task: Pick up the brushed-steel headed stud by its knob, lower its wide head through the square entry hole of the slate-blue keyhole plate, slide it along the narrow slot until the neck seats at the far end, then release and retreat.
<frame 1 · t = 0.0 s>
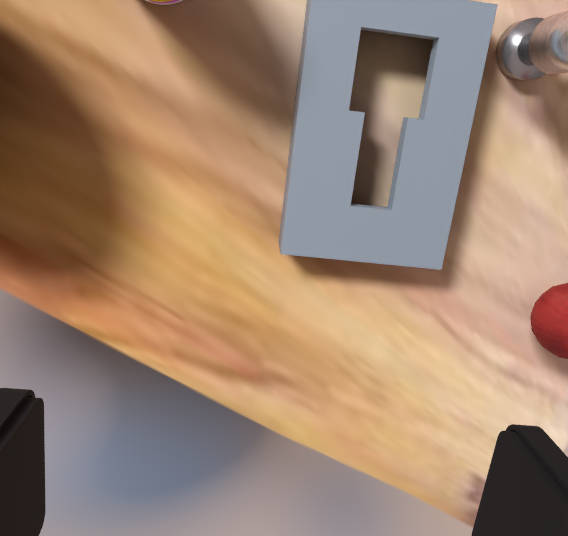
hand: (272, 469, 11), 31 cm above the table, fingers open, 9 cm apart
onion: (545, 303, 45), on the table
stud: (523, 50, 39), on the table
keyhole plate: (372, 133, 40), on the table
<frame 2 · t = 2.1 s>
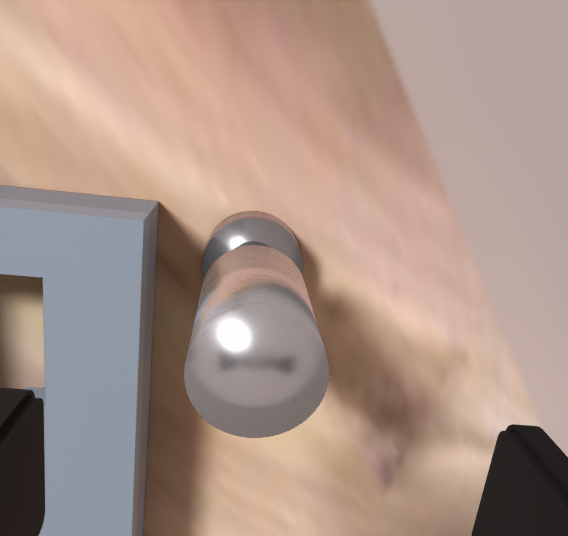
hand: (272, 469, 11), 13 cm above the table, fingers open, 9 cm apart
stud: (252, 257, 23), on the table
keyhole plate: (12, 386, 24), on the table
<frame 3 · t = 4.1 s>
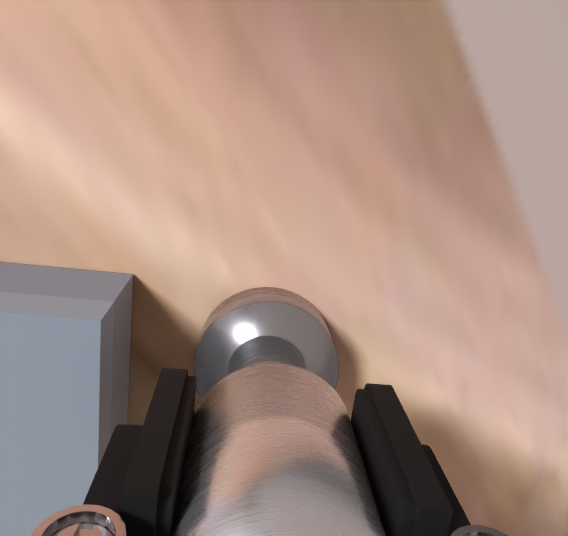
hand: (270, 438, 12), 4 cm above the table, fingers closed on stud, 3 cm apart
stud: (265, 349, 16), on the table, touching gripper
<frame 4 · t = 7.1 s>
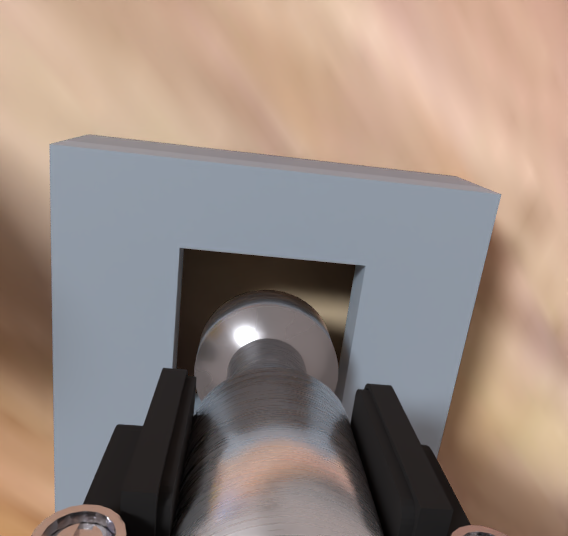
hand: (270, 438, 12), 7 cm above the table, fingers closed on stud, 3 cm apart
stud: (265, 352, 16), point 3 cm above the table, touching gripper
keyhole plate: (250, 398, 20), on the table
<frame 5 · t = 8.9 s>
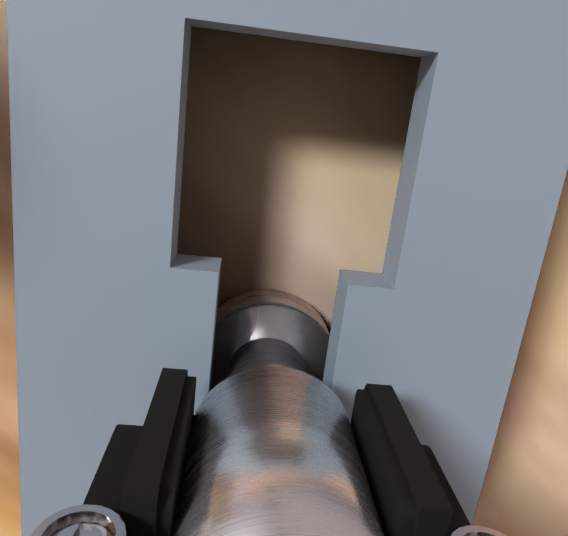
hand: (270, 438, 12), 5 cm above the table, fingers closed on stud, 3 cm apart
stud: (265, 351, 16), resting in keyhole plate, touching gripper
keyhole plate: (272, 287, 16), on the table
when the fingers open (5 cm above the table, at t = 10.3 s): stud stays where it is, resting in keyhole plate.
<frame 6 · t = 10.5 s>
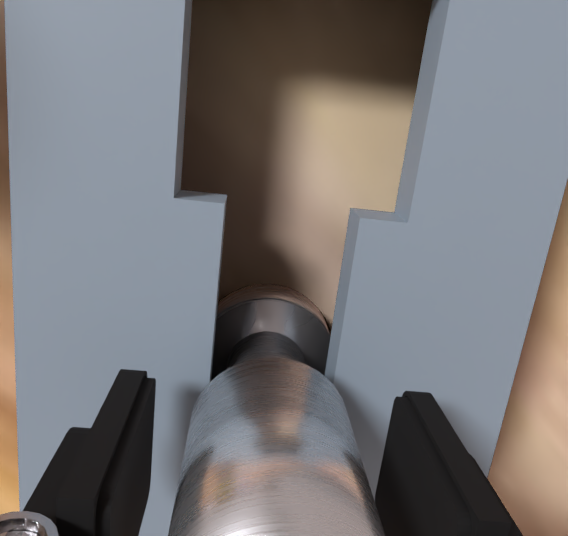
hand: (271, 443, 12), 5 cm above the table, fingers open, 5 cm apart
stud: (265, 345, 16), resting in keyhole plate
keyhole plate: (278, 236, 15), on the table
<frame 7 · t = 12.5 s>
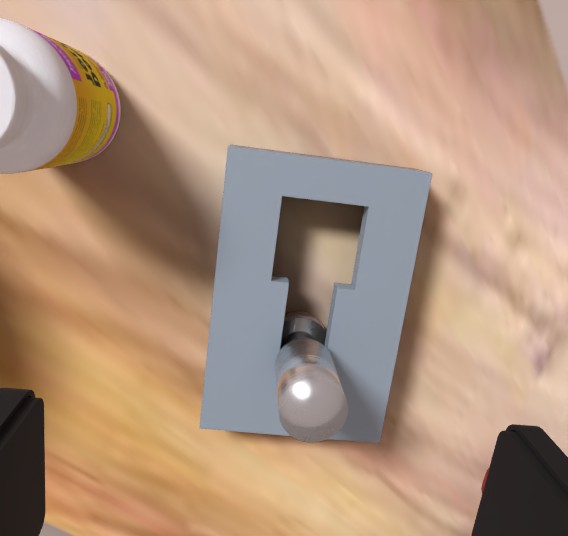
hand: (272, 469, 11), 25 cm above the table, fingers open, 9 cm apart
supplement bottle: (68, 106, 33), on the table
stud: (297, 338, 37), resting in keyhole plate
keyhole plate: (304, 291, 36), on the table
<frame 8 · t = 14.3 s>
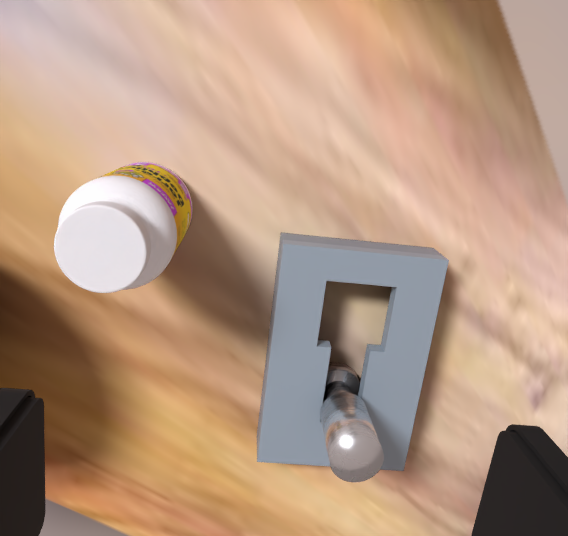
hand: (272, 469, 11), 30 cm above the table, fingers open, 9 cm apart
supplement bottle: (148, 205, 40), on the table
stud: (334, 384, 45), resting in keyhole plate
keyhole plate: (340, 346, 44), on the table
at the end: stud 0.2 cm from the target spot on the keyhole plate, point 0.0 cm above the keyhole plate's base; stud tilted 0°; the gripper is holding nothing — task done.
